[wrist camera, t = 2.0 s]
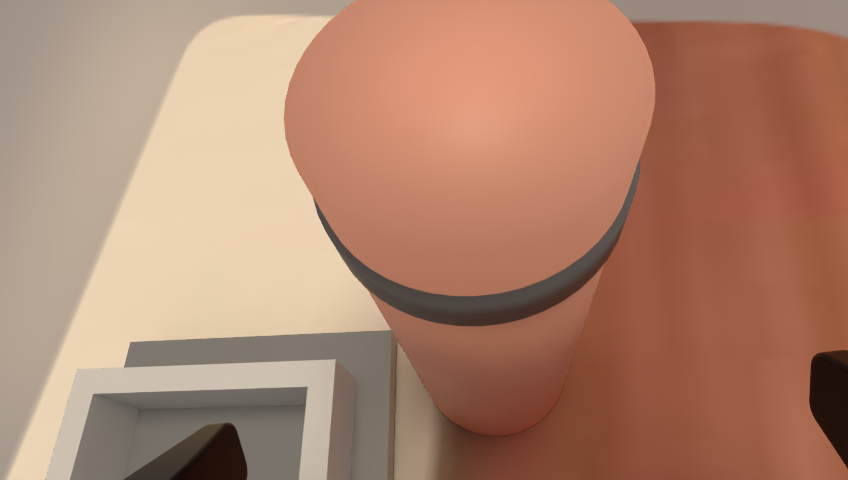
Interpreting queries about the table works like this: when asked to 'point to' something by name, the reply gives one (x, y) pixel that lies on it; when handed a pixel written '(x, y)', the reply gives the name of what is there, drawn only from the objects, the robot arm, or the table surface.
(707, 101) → the table surface
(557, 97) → the banded pink rod
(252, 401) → the jig
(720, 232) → the table surface
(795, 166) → the table surface
